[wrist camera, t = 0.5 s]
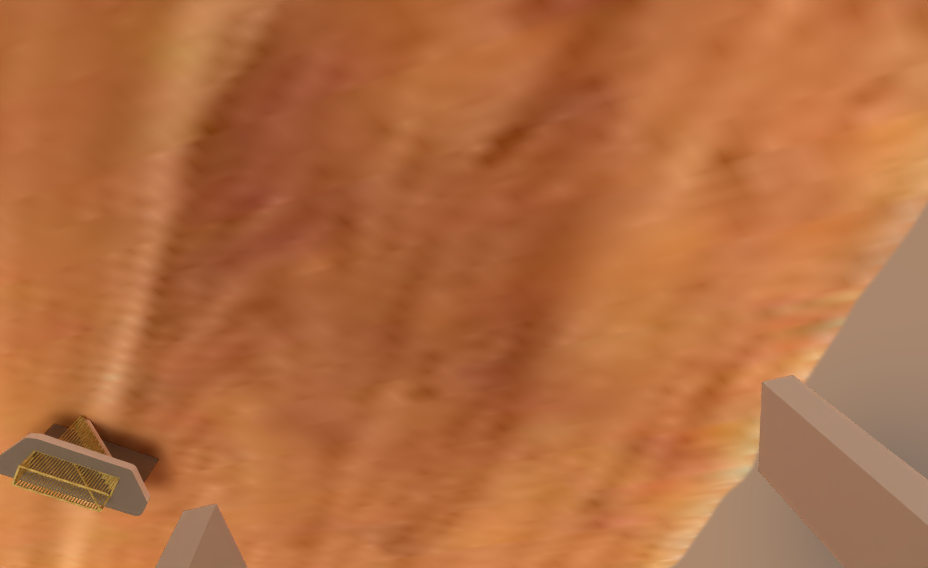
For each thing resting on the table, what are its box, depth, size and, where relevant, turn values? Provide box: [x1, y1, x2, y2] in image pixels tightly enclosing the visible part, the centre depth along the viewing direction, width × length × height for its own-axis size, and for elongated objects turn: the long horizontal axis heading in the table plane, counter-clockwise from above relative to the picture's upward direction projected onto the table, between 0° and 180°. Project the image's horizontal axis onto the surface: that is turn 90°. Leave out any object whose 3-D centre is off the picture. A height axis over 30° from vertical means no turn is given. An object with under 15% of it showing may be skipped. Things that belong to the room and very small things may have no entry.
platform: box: [0, 415, 159, 516], centre depth 39 cm, size 12×18×7 cm, turn 59°
